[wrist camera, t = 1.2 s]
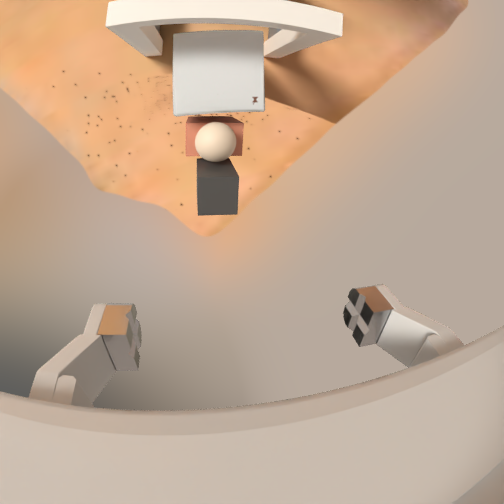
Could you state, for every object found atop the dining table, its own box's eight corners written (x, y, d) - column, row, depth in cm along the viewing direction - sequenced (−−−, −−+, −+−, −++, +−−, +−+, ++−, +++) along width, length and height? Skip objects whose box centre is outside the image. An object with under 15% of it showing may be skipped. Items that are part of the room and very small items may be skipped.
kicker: (188, 115, 30) (183, 126, 18) (231, 114, 31) (255, 127, 19) (188, 169, 33) (184, 215, 21) (228, 168, 34) (250, 214, 22)
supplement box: (242, 51, 28) (267, 29, 17) (242, 108, 32) (267, 114, 21) (180, 54, 27) (171, 31, 16) (181, 111, 30) (173, 118, 20)
